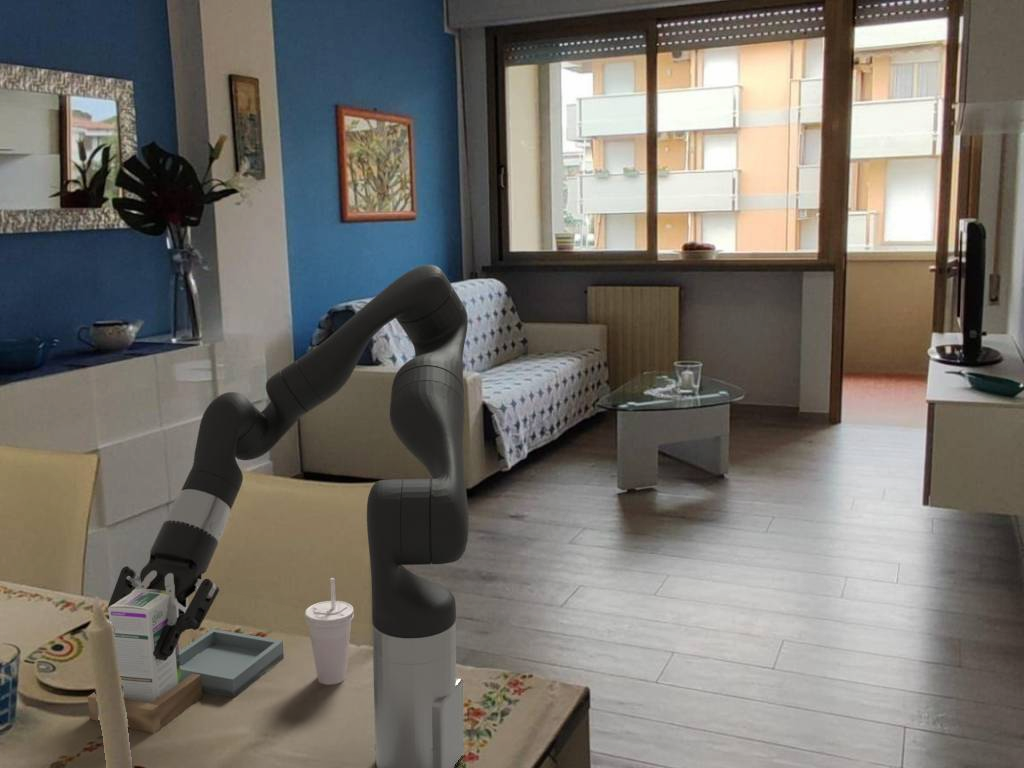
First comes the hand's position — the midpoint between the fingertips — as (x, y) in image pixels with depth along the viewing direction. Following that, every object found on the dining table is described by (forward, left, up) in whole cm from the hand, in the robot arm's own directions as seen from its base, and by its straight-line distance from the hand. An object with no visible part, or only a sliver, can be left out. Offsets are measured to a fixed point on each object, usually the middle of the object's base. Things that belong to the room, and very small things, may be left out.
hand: (136, 653), depth 119 cm
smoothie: (-18, -16, -8) cm, 25 cm away
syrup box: (0, -2, -8) cm, 8 cm away
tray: (-3, -13, -8) cm, 15 cm away
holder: (0, -2, -8) cm, 8 cm away
